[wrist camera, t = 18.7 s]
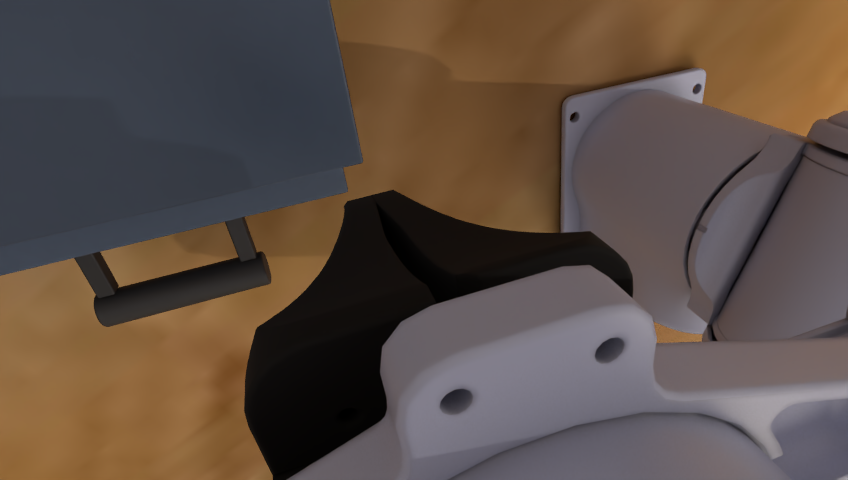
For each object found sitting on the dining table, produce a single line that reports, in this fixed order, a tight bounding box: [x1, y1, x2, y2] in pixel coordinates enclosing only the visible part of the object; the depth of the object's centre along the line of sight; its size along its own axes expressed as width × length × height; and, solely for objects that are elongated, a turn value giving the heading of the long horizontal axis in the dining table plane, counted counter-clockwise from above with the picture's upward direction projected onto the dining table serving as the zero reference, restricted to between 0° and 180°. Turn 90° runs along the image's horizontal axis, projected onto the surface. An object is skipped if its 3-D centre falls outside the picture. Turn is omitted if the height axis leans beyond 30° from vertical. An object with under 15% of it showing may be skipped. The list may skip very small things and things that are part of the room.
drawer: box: [0, 168, 348, 327], centre depth 16 cm, size 15×13×6 cm
